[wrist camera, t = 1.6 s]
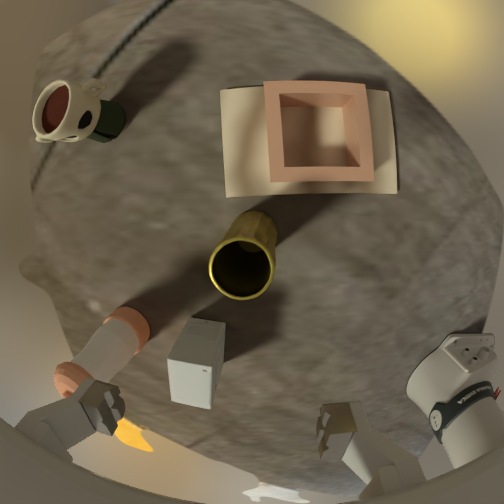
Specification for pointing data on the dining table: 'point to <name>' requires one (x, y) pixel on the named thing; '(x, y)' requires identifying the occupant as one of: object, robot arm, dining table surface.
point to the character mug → (76, 113)
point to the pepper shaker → (104, 351)
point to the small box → (197, 362)
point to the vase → (245, 257)
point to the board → (300, 145)
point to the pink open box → (321, 95)
